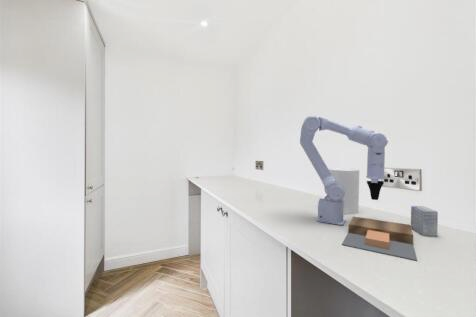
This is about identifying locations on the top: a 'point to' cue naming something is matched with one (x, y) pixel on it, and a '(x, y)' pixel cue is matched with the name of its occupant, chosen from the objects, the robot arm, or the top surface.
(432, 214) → the medicine box
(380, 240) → the tan rectangular slab
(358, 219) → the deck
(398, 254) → the mat
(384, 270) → the top surface
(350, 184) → the canister
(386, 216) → the top surface
